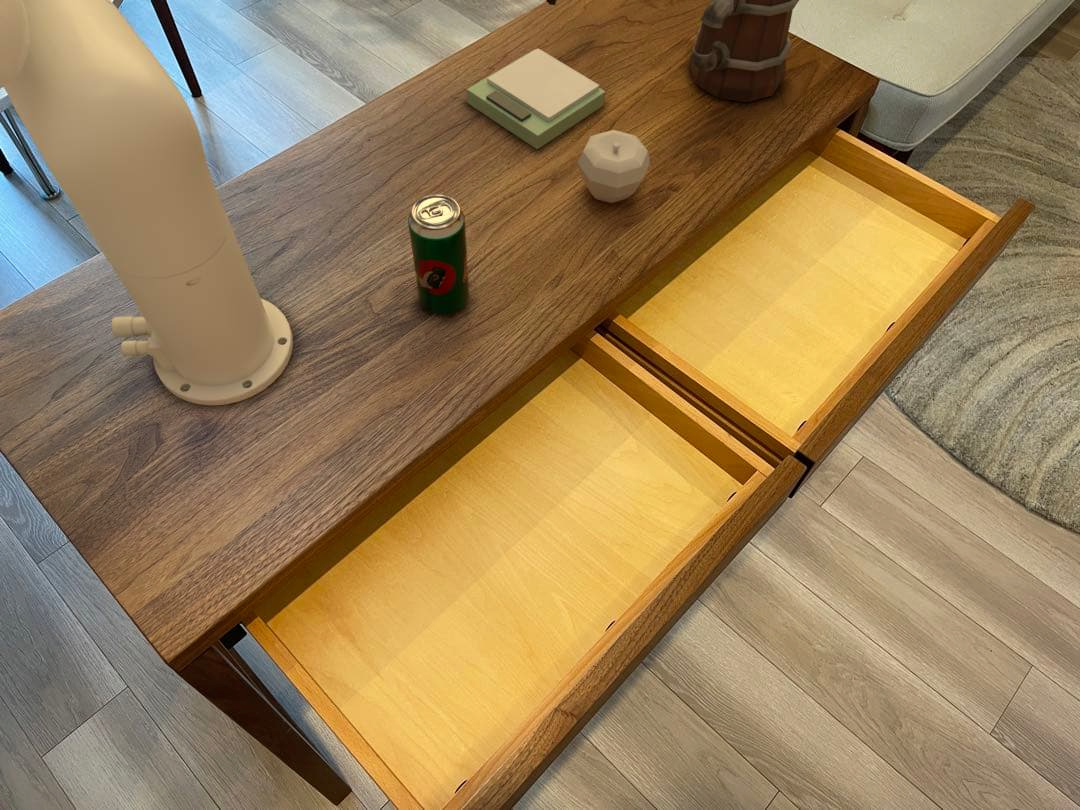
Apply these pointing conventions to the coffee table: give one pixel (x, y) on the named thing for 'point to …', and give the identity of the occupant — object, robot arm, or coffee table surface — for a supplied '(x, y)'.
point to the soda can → (439, 253)
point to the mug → (742, 48)
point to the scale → (536, 97)
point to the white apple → (613, 165)
